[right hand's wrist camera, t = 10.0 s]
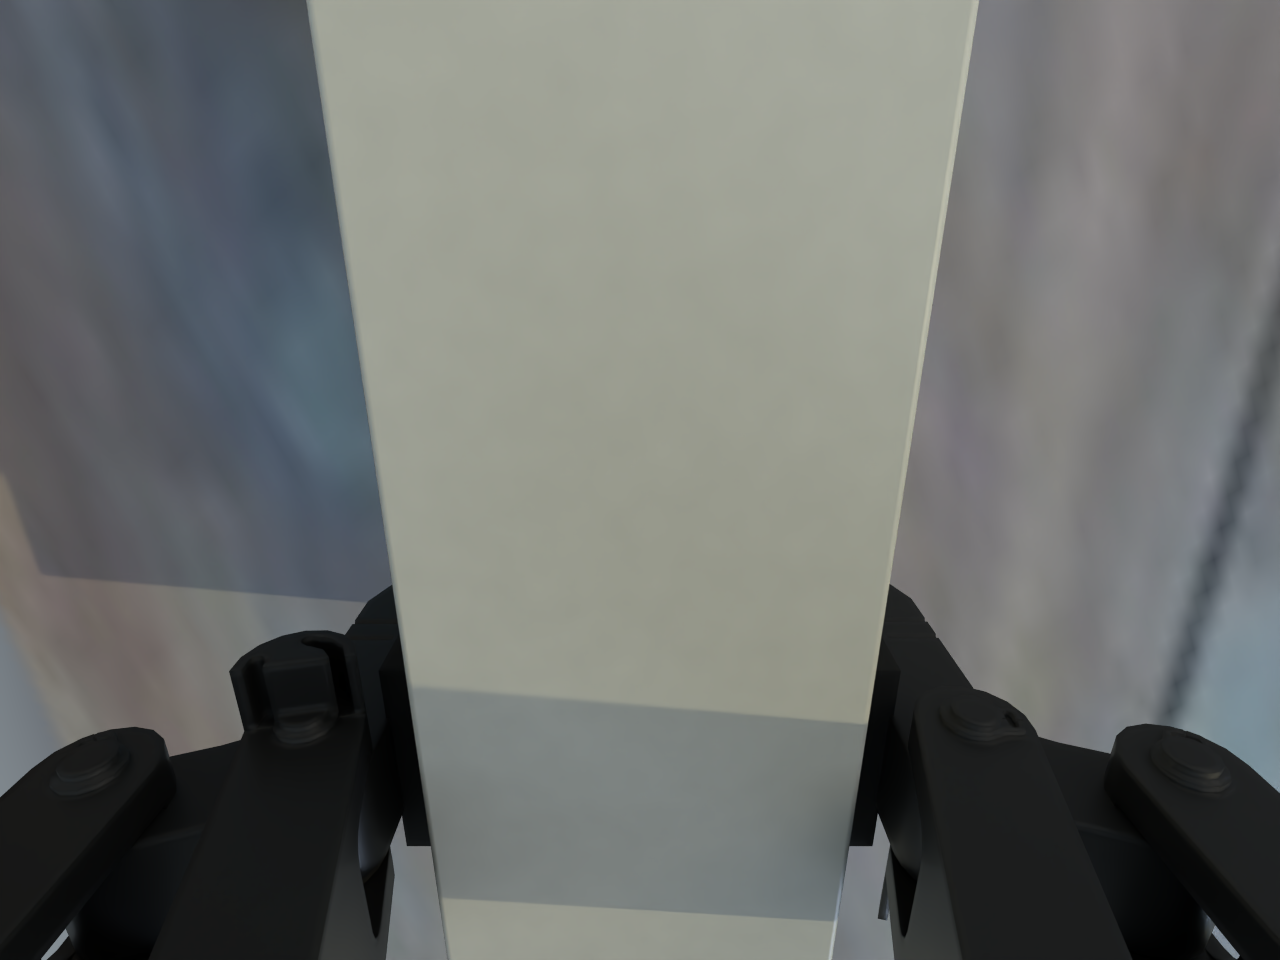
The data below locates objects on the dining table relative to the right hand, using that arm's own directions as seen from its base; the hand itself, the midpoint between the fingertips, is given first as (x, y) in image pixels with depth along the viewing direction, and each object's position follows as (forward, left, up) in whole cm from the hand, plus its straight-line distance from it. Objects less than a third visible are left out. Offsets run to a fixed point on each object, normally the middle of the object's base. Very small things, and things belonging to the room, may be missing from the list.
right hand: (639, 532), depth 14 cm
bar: (+13, +22, -1) cm, 25 cm away
